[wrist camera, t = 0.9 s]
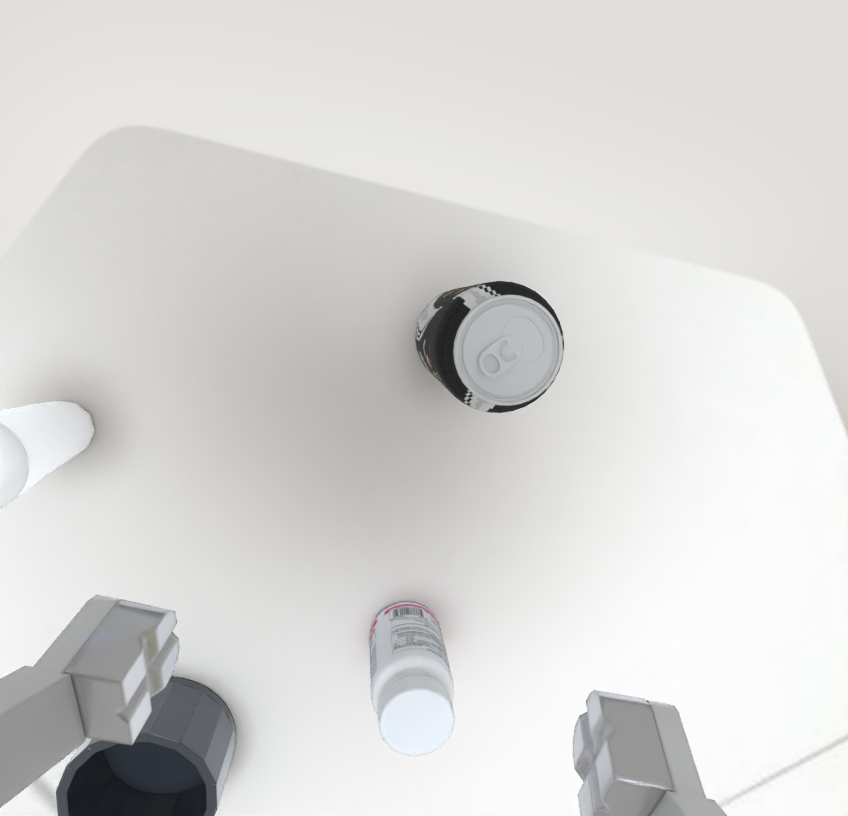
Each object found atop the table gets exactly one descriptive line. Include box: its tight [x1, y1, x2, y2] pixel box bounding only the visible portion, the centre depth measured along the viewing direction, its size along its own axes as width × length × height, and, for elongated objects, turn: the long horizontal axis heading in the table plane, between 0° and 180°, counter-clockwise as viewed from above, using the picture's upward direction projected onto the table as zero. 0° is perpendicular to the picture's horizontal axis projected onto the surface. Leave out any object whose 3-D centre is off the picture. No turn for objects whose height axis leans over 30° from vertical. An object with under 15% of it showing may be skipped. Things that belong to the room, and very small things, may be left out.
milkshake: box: [0, 400, 95, 509], centre depth 28 cm, size 4×5×10 cm
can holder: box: [56, 677, 236, 816], centre depth 35 cm, size 9×9×5 cm
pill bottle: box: [369, 602, 454, 756], centre depth 34 cm, size 5×5×8 cm
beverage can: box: [416, 281, 564, 413], centre depth 29 cm, size 6×6×12 cm
